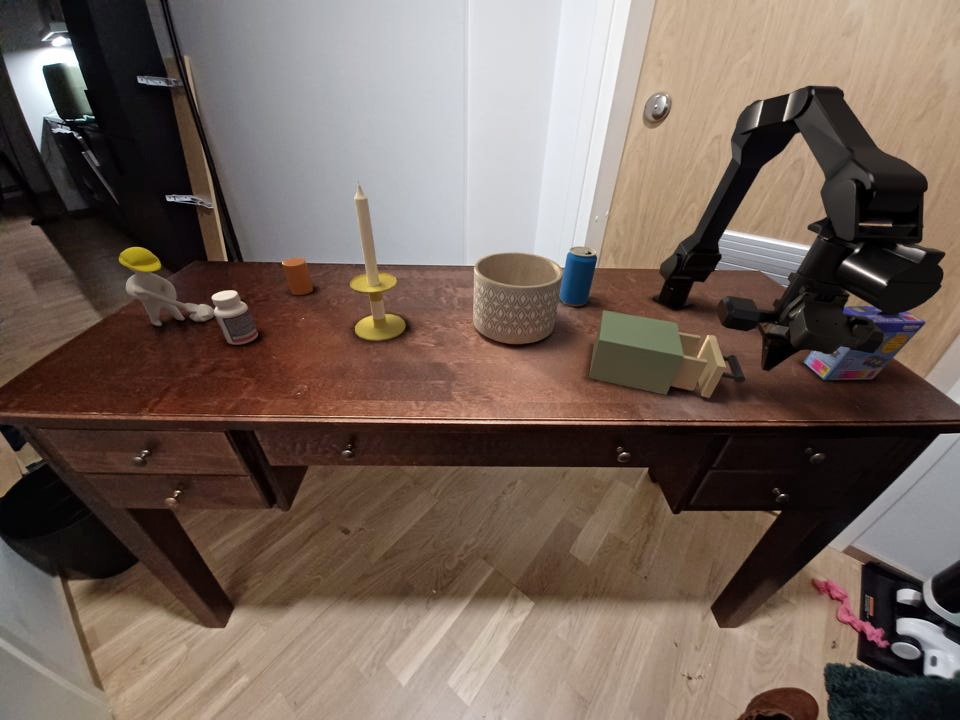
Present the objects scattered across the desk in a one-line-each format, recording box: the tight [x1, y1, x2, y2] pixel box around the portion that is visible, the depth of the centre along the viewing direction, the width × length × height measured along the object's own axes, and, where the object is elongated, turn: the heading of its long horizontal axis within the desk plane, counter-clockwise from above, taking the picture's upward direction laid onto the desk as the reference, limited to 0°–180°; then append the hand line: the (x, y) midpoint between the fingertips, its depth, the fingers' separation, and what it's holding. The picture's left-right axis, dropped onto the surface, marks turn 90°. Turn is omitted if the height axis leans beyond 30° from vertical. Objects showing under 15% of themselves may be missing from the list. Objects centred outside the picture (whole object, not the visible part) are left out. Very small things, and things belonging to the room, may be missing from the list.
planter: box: [472, 251, 564, 345], centre depth 71 cm, size 16×16×13 cm
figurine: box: [118, 246, 215, 327], centre depth 69 cm, size 10×9×15 cm
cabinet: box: [588, 309, 684, 396], centre depth 62 cm, size 12×10×8 cm
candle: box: [349, 181, 407, 342], centre depth 65 cm, size 10×10×27 cm
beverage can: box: [559, 246, 598, 307], centre depth 82 cm, size 6×6×12 cm
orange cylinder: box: [282, 257, 314, 296], centre depth 83 cm, size 5×5×7 cm
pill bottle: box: [211, 289, 259, 346], centre depth 66 cm, size 5×5×9 cm
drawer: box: [670, 331, 746, 399], centre depth 60 cm, size 15×9×6 cm, turn 71°
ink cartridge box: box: [803, 305, 927, 381], centre depth 62 cm, size 10×6×14 cm, turn 95°
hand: (764, 369), depth 57 cm, fingers closed
